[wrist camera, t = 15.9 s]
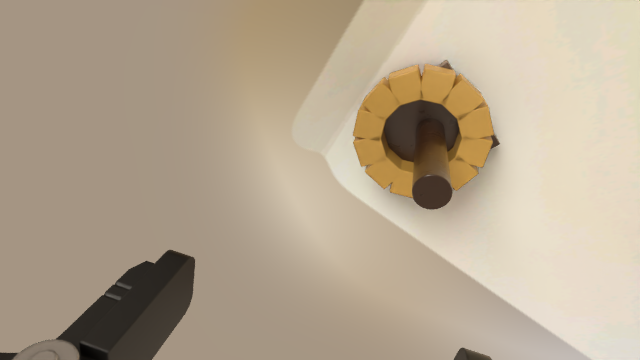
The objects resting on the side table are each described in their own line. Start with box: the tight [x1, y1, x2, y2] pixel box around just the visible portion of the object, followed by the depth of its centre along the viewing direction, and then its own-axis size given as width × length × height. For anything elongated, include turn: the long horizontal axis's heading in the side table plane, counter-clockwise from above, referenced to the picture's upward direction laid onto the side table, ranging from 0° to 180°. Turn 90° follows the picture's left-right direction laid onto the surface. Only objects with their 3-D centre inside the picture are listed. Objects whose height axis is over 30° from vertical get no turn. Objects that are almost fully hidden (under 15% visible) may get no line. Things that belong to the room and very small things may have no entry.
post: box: [384, 60, 500, 209], centre depth 25 cm, size 7×7×11 cm
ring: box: [353, 64, 494, 198], centre depth 28 cm, size 9×9×2 cm
